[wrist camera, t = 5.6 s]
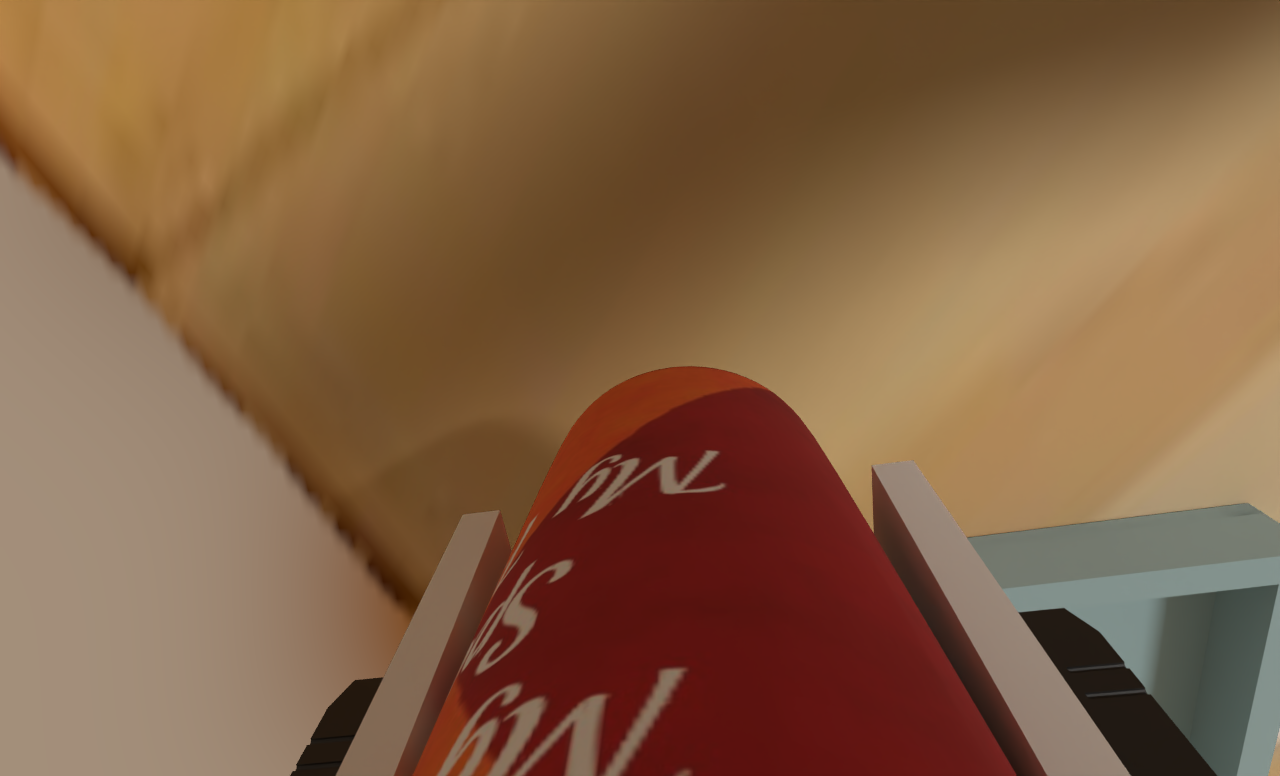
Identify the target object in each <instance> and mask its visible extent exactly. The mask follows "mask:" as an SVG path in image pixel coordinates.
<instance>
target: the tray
mask: <svg viewBox="0 0 1280 776" xmlns="http://www.w3.org/2000/svg"><path fill="white" fill-rule="evenodd" d="M967 539H968V540H969V542H970V543H971V545H972V546H973V548H974V549H975V551H976V552H977V553H978V555H979V556H980V558H981V559H982V561H983V562H984V564H985V565H986V566H987V568H988V569H989V571H990V572H991V574H992V575H993V577H994V578H995V580H996V581H997V582H998V584H999V585H1000V587H1001V588H1002V590H1003V591H1004V593H1005V594H1006V595H1007V597H1008V598H1009V600H1010V601H1011V603H1012V604H1013V606H1014V607H1015V609H1016V610H1017V611H1018V612H1027V611H1037V610H1047V609H1057V608H1065V609H1066V610H1068V611H1069V612H1071V613H1072V614H1074V615H1075V616H1077V617H1078V618H1080V619H1081V620H1083V621H1084V622H1086V623H1087V624H1089V625H1090V626H1092V627H1093V628H1095V629H1096V630H1098V631H1099V632H1100V633H1101V634H1102V635H1103V636H1104V638H1105V639H1106V640H1107V641H1108V643H1109V644H1110V645H1111V646H1112V647H1113V649H1114V650H1115V651H1116V652H1117V654H1118V655H1119V656H1120V657H1121V658H1122V660H1123V661H1124V663H1125V667H1126V668H1130V669H1131V671H1132V672H1133V673H1134V674H1135V676H1136V677H1137V678H1138V679H1139V680H1140V682H1141V683H1142V684H1143V685H1144V687H1145V690H1146V692H1147V694H1151V695H1152V696H1153V698H1154V699H1155V700H1156V701H1157V702H1158V704H1159V705H1160V706H1161V707H1162V709H1163V710H1164V711H1165V712H1166V713H1167V715H1168V716H1169V717H1170V718H1171V720H1172V721H1173V722H1174V723H1175V724H1176V726H1177V727H1178V728H1179V729H1180V731H1181V732H1182V733H1183V734H1184V735H1185V737H1186V738H1187V739H1188V740H1189V742H1190V743H1191V744H1192V745H1193V746H1194V748H1195V749H1196V750H1197V751H1198V753H1199V754H1200V755H1201V756H1202V757H1203V759H1204V760H1205V761H1206V762H1207V764H1208V765H1209V766H1210V767H1211V769H1212V770H1213V771H1214V772H1215V773H1216V775H1217V776H1268V773H1269V769H1270V765H1271V761H1272V757H1273V753H1274V749H1275V745H1276V740H1277V736H1278V732H1279V728H1280V523H1278V522H1276V521H1275V520H1273V519H1272V518H1270V517H1269V516H1267V515H1266V514H1264V513H1263V512H1261V511H1259V510H1258V509H1256V508H1255V507H1253V506H1252V505H1250V504H1249V503H1245V504H1237V505H1229V506H1221V507H1213V508H1205V509H1196V510H1188V511H1180V512H1172V513H1164V514H1156V515H1148V516H1140V517H1132V518H1123V519H1115V520H1107V521H1099V522H1091V523H1083V524H1075V525H1067V526H1059V527H1051V528H1042V529H1034V530H1026V531H1018V532H1010V533H1002V534H994V535H986V536H978V537H970V538H967Z"/></svg>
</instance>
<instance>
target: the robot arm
mask: <svg viewBox="0 0 1280 776" xmlns="http://www.w3.org/2000/svg"><path fill="white" fill-rule="evenodd" d="M872 491H873V521H874V535H875V537H876V538H877V540H878V542H879V543H880V545H881V547H882V548H883V550H884V552H885V553H886V555H887V557H888V559H889V560H890V562H891V564H892V565H893V567H894V569H895V570H896V572H897V574H898V575H899V577H900V579H901V580H902V582H903V584H904V585H905V587H906V589H907V590H908V592H909V594H910V596H911V597H912V599H913V601H914V602H915V604H916V606H917V607H918V609H919V611H920V612H921V614H922V616H923V617H924V619H925V621H926V622H927V624H928V626H929V628H930V629H931V631H932V633H933V634H934V636H935V638H936V639H937V641H938V643H939V644H940V646H941V648H942V649H943V651H944V653H945V654H946V656H947V658H948V659H949V661H950V663H951V665H952V666H953V668H954V670H955V671H956V673H957V675H958V676H959V678H960V680H961V681H962V683H963V685H964V687H965V688H966V690H967V692H968V693H969V695H970V697H971V698H972V700H973V702H974V703H975V705H976V707H977V709H978V710H979V712H980V714H981V715H982V717H983V719H984V720H985V722H986V724H987V726H988V727H989V729H990V731H991V732H992V734H993V736H994V737H995V739H996V741H997V742H998V744H999V746H1000V748H1001V749H1002V751H1003V753H1004V754H1005V756H1006V758H1007V759H1008V761H1009V763H1010V765H1011V766H1012V768H1013V770H1014V771H1015V773H1016V775H1017V776H1217V775H1216V773H1215V772H1214V771H1213V770H1212V769H1211V767H1210V766H1209V765H1208V764H1207V762H1206V761H1205V760H1204V759H1203V757H1202V756H1201V755H1200V754H1199V753H1198V751H1197V750H1196V749H1195V748H1194V746H1193V745H1192V744H1191V743H1190V742H1189V740H1188V739H1187V738H1186V737H1185V735H1184V734H1183V733H1182V732H1181V731H1180V729H1179V728H1178V727H1177V726H1176V724H1175V723H1174V722H1173V721H1172V720H1171V718H1170V717H1169V716H1168V715H1167V713H1166V712H1165V711H1164V710H1163V709H1162V707H1161V706H1160V705H1159V704H1158V702H1157V701H1156V700H1155V699H1154V698H1153V696H1152V695H1151V694H1147V692H1146V690H1145V687H1144V685H1143V684H1142V683H1141V682H1140V680H1139V679H1138V678H1137V677H1136V676H1135V674H1134V673H1133V672H1132V671H1131V669H1130V668H1126V667H1125V663H1124V661H1123V660H1122V658H1121V657H1120V656H1119V655H1118V654H1117V652H1116V651H1115V650H1114V649H1113V647H1112V646H1111V645H1110V644H1109V643H1108V641H1107V640H1106V639H1105V638H1104V636H1103V635H1102V634H1101V633H1100V632H1099V631H1098V630H1096V629H1095V628H1093V627H1092V626H1090V625H1089V624H1087V623H1086V622H1084V621H1083V620H1081V619H1080V618H1078V617H1077V616H1075V615H1074V614H1072V613H1071V612H1069V611H1068V610H1066V609H1065V608H1057V609H1047V610H1037V611H1027V612H1018V611H1017V610H1016V609H1015V607H1014V606H1013V604H1012V603H1011V601H1010V600H1009V598H1008V597H1007V595H1006V594H1005V593H1004V591H1003V590H1002V588H1001V587H1000V585H999V584H998V582H997V581H996V580H995V578H994V577H993V575H992V574H991V572H990V571H989V569H988V568H987V566H986V565H985V564H984V562H983V561H982V559H981V558H980V556H979V555H978V553H977V552H976V551H975V549H974V548H973V546H972V545H971V543H970V542H969V540H968V539H967V538H966V536H965V535H964V533H963V532H962V530H961V529H960V527H959V526H958V524H957V523H956V522H955V520H954V519H953V517H952V516H951V514H950V513H949V511H948V510H947V509H946V507H945V506H944V504H943V503H942V501H941V500H940V498H939V497H938V495H937V494H936V493H935V491H934V490H933V488H932V487H931V485H930V484H929V482H928V481H927V480H926V478H925V477H924V475H923V474H922V472H921V471H920V469H919V468H918V466H917V465H916V464H915V462H914V461H913V460H912V461H904V462H895V463H887V464H879V465H872ZM511 552H512V551H511V548H510V544H509V541H508V537H507V533H506V530H505V526H504V523H503V519H502V515H501V512H500V510H496V511H488V512H480V513H472V514H463V515H462V517H461V519H460V521H459V523H458V525H457V527H456V529H455V531H454V533H453V536H452V538H451V540H450V542H449V544H448V546H447V548H446V550H445V552H444V554H443V556H442V558H441V560H440V562H439V564H438V566H437V568H436V571H435V573H434V575H433V577H432V579H431V581H430V583H429V585H428V587H427V589H426V591H425V593H424V595H423V597H422V599H421V601H420V603H419V605H418V608H417V610H416V612H415V614H414V616H413V618H412V620H411V622H410V624H409V626H408V628H407V630H406V632H405V634H404V636H403V639H402V640H401V643H400V645H399V647H398V649H397V651H396V653H395V655H394V657H393V659H392V661H391V663H390V665H389V667H388V669H387V671H386V673H385V675H384V677H383V678H373V679H363V680H355V681H354V682H353V683H352V684H351V685H350V686H349V687H348V688H347V689H346V690H345V691H344V692H343V693H342V694H341V695H340V696H339V697H338V698H337V699H336V700H335V701H334V702H333V703H332V704H331V705H330V706H329V707H328V709H327V710H326V712H325V714H324V716H323V718H322V720H321V721H320V723H319V725H318V727H317V728H316V730H315V732H314V734H313V736H312V737H311V744H310V745H307V747H306V748H305V750H304V752H303V754H302V755H301V757H300V759H299V761H298V763H297V764H296V765H297V769H296V771H293V772H292V774H291V775H290V776H412V775H413V773H414V771H415V769H416V766H417V764H418V762H419V760H420V757H421V755H422V753H423V750H424V748H425V746H426V744H427V741H428V739H429V737H430V735H431V732H432V730H433V728H434V725H435V723H436V721H437V719H438V716H439V714H440V712H441V710H442V707H443V705H444V703H445V701H446V698H447V696H448V694H449V691H450V689H451V687H452V685H453V682H454V680H455V678H456V676H457V673H458V671H459V669H460V667H461V664H462V662H463V660H464V658H465V655H466V653H467V651H468V649H469V646H470V644H471V642H472V640H473V637H474V635H475V633H476V631H477V628H478V626H479V624H480V622H481V619H482V617H483V615H484V613H485V610H486V608H487V606H488V604H489V602H490V599H491V597H492V595H493V593H494V590H495V588H496V586H497V584H498V581H499V579H500V577H501V575H502V572H503V570H504V568H505V566H506V563H507V561H508V559H509V557H510V554H511Z"/></svg>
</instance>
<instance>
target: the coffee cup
mask: <svg viewBox="0 0 1280 776" xmlns="http://www.w3.org/2000/svg"><path fill="white" fill-rule="evenodd" d="M412 776H1017V775H1016V773H1015V771H1014V770H1013V768H1012V766H1011V765H1010V763H1009V761H1008V759H1007V758H1006V756H1005V754H1004V753H1003V751H1002V749H1001V748H1000V746H999V744H998V742H997V741H996V739H995V737H994V736H993V734H992V732H991V731H990V729H989V727H988V726H987V724H986V722H985V720H984V719H983V717H982V715H981V714H980V712H979V710H978V709H977V707H976V705H975V703H974V702H973V700H972V698H971V697H970V695H969V693H968V692H967V690H966V688H965V687H964V685H963V683H962V681H961V680H960V678H959V676H958V675H957V673H956V671H955V670H954V668H953V666H952V665H951V663H950V661H949V659H948V658H947V656H946V654H945V653H944V651H943V649H942V648H941V646H940V644H939V643H938V641H937V639H936V638H935V636H934V634H933V633H932V631H931V629H930V628H929V626H928V624H927V622H926V621H925V619H924V617H923V616H922V614H921V612H920V611H919V609H918V607H917V606H916V604H915V602H914V601H913V599H912V597H911V596H910V594H909V592H908V590H907V589H906V587H905V585H904V584H903V582H902V580H901V579H900V577H899V575H898V574H897V572H896V570H895V569H894V567H893V565H892V564H891V562H890V560H889V559H888V557H887V555H886V553H885V552H884V550H883V548H882V547H881V545H880V543H879V542H878V540H877V538H876V537H875V535H874V533H873V532H872V530H871V528H870V527H869V525H868V523H867V522H866V520H865V519H864V517H863V515H862V514H861V512H860V510H859V509H858V507H857V505H856V504H855V502H854V500H853V499H852V497H851V495H850V494H849V492H848V490H847V489H846V487H845V485H844V484H843V482H842V480H841V479H840V477H839V475H838V474H837V472H836V471H835V469H834V467H833V466H832V464H831V463H830V461H829V460H828V458H827V456H826V455H825V453H824V452H823V450H822V449H821V447H820V445H819V444H818V442H817V441H816V439H815V438H814V436H813V435H812V434H811V432H810V431H809V429H808V428H807V427H806V425H805V424H804V423H803V421H802V420H801V419H800V417H799V416H798V415H797V414H796V413H795V412H794V411H793V410H792V409H791V408H790V407H789V406H788V405H787V404H786V403H785V402H784V401H783V400H782V399H781V398H779V397H778V396H777V395H776V394H774V393H773V392H771V391H770V390H768V389H767V388H765V387H764V386H762V385H760V384H758V383H757V382H755V381H752V380H750V379H748V378H746V377H743V376H741V375H738V374H735V373H732V372H728V371H724V370H719V369H715V368H707V367H694V366H687V367H671V368H665V369H659V370H655V371H651V372H647V373H644V374H641V375H638V376H636V377H633V378H631V379H628V380H626V381H624V382H622V383H620V384H618V385H617V386H615V387H613V388H612V389H610V390H609V391H607V392H606V393H604V394H603V395H602V396H600V397H599V398H598V399H597V400H596V401H594V402H593V403H592V404H591V405H590V406H589V407H588V408H587V409H586V411H585V412H584V413H583V414H582V415H581V416H580V418H579V419H578V420H577V421H576V423H575V424H574V425H573V427H572V428H571V430H570V432H569V433H568V435H567V437H566V438H565V440H564V442H563V444H562V445H561V447H560V449H559V451H558V453H557V455H556V457H555V459H554V461H553V463H552V466H551V468H550V470H549V472H548V474H547V476H546V478H545V480H544V482H543V484H542V486H541V488H540V490H539V493H538V495H537V497H536V499H535V501H534V504H533V506H532V508H531V510H530V512H529V515H528V517H527V519H526V521H525V523H524V526H523V528H522V530H521V532H520V534H519V537H518V539H517V541H516V543H515V546H514V548H513V550H512V552H511V554H510V557H509V559H508V561H507V563H506V566H505V568H504V570H503V572H502V575H501V577H500V579H499V581H498V584H497V586H496V588H495V590H494V593H493V595H492V597H491V599H490V602H489V604H488V606H487V608H486V610H485V613H484V615H483V617H482V619H481V622H480V624H479V626H478V628H477V631H476V633H475V635H474V637H473V640H472V642H471V644H470V646H469V649H468V651H467V653H466V655H465V658H464V660H463V662H462V664H461V667H460V669H459V671H458V673H457V676H456V678H455V680H454V682H453V685H452V687H451V689H450V691H449V694H448V696H447V698H446V701H445V703H444V705H443V707H442V710H441V712H440V714H439V716H438V719H437V721H436V723H435V725H434V728H433V730H432V732H431V735H430V737H429V739H428V741H427V744H426V746H425V748H424V750H423V753H422V755H421V757H420V760H419V762H418V764H417V766H416V769H415V771H414V773H413V775H412Z"/></svg>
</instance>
